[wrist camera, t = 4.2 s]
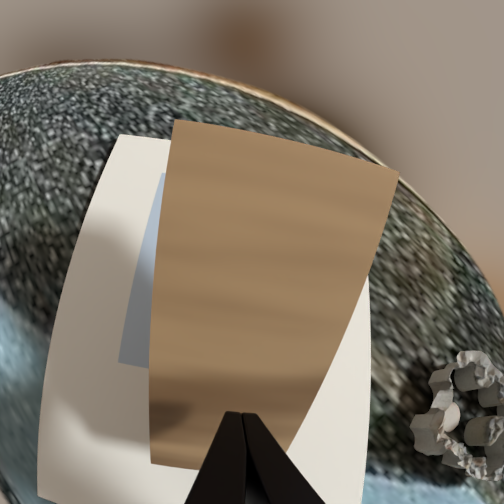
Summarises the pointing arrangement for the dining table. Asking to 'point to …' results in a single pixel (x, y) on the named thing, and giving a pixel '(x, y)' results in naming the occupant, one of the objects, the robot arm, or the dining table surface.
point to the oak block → (253, 280)
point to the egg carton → (448, 414)
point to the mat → (137, 362)
